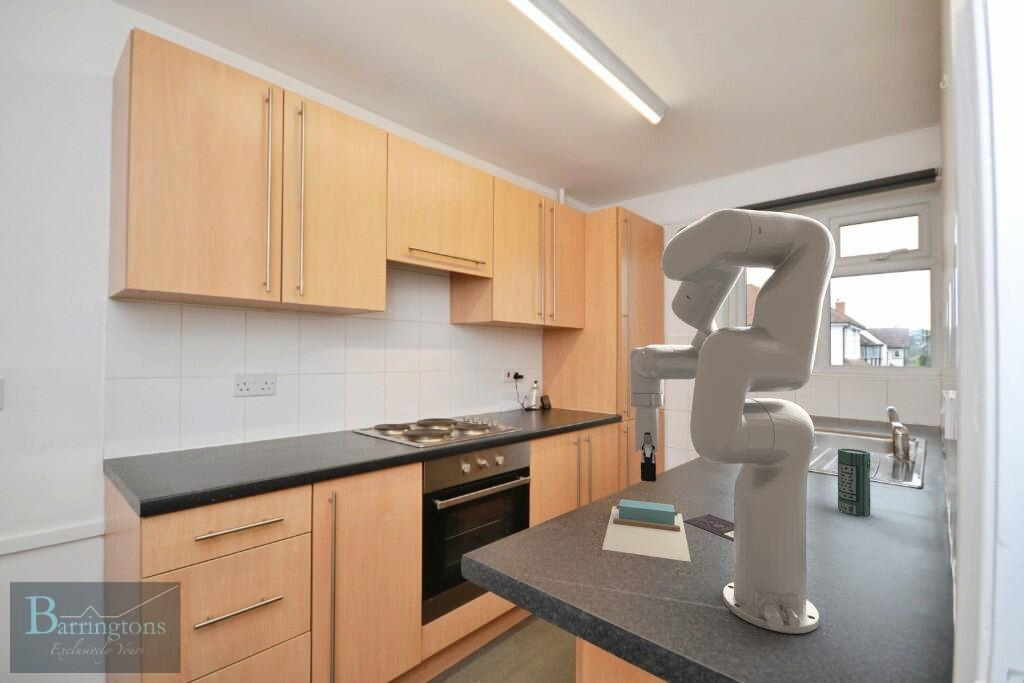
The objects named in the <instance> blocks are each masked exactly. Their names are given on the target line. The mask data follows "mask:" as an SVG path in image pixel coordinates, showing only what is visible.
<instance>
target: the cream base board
mask: <svg viewBox="0 0 1024 683" xmlns="http://www.w3.org/2000/svg"><path fill="white" fill-rule="evenodd" d="M619 504H620V503H616V505H615V506H614V505H612V507H611V512H610V517H609V518H608V523H607V528H606V532H605V536H604V539H603V544H602V546H601V547H602V549H601V550H603V551H609V552H610V551H611V552H616V553H617V552H618V553H625V554H632V555H639V556H645V557H651V558H660V559H666V560H667V559H668V560H674V561H681V562H686V563H687V562H690V563H691V561H692V560H691V556H690V551H689V545H688V540H687V535H686V531H685V525H684V519H683V515H682V513H678V510H677V509H674V511H675V525H668V524H660V523H652V522H643V521H635V520H627V519H619Z"/></svg>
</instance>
